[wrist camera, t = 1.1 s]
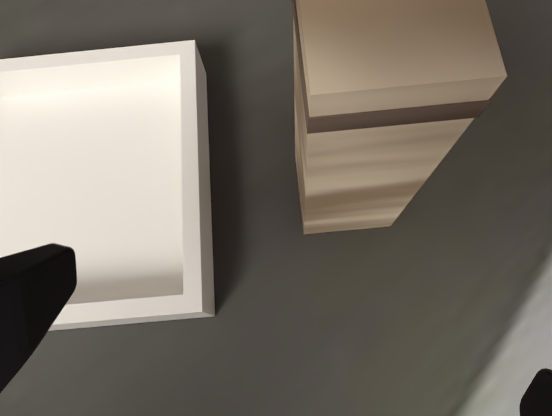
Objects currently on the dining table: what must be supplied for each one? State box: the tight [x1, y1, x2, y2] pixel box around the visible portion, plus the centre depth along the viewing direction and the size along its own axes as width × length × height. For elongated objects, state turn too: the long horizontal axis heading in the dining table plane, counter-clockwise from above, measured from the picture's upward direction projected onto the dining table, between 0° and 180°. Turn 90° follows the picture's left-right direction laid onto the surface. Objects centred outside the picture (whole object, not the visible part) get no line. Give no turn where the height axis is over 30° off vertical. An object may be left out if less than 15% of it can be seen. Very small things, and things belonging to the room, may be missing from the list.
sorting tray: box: [0, 40, 215, 331], centre depth 22 cm, size 14×14×3 cm
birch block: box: [292, 0, 507, 234], centre depth 17 cm, size 5×5×13 cm
